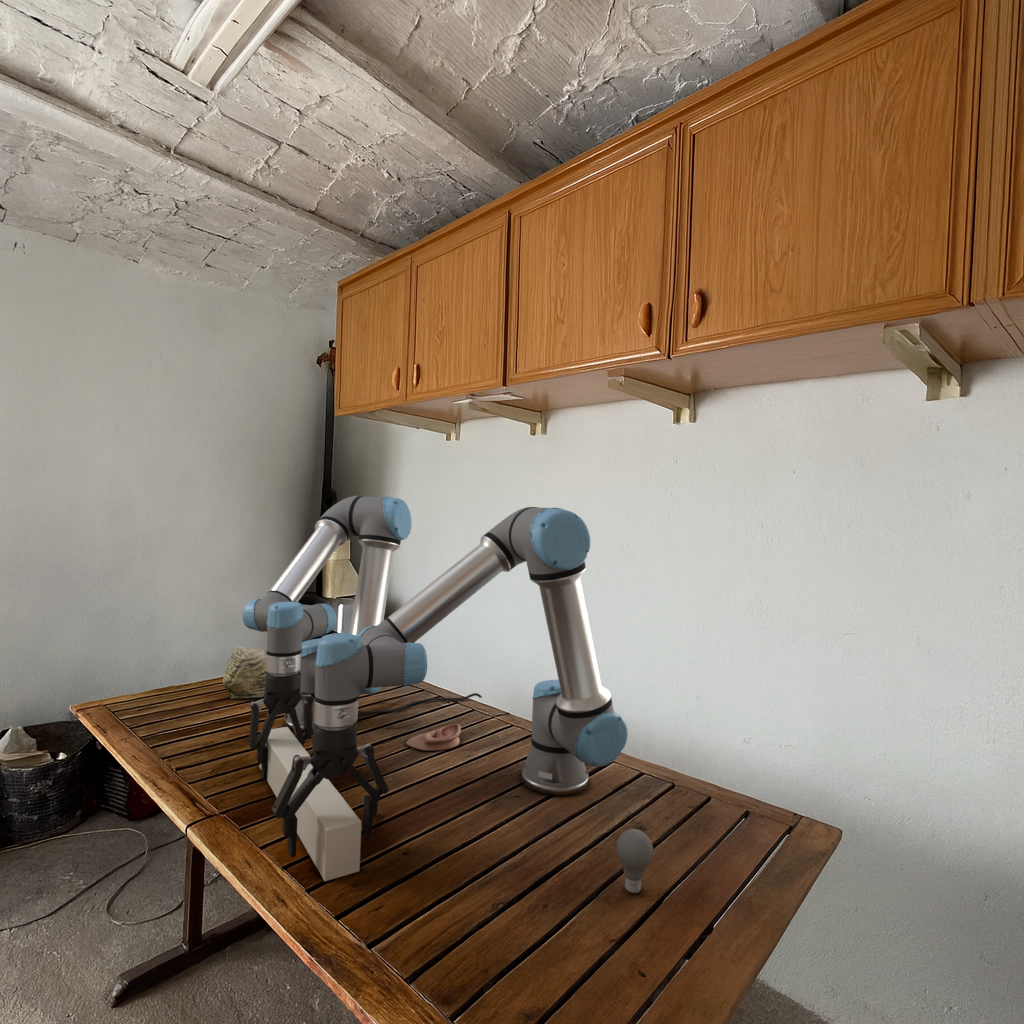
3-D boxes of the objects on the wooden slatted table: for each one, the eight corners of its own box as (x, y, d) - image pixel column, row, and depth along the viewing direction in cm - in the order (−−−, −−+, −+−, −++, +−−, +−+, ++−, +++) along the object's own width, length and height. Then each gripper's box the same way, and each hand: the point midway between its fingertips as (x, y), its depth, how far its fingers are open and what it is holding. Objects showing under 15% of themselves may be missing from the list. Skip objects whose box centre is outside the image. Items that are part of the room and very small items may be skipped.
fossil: (218, 695, 195) (220, 647, 195) (278, 685, 208) (279, 640, 207) (228, 703, 189) (230, 653, 188) (289, 692, 201) (290, 645, 201)
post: (259, 767, 147) (260, 730, 146) (286, 762, 150) (287, 726, 150) (324, 881, 105) (326, 830, 105) (359, 871, 108) (361, 821, 108)
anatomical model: (402, 732, 161) (417, 717, 172) (401, 747, 161) (417, 732, 172) (452, 738, 158) (464, 723, 170) (451, 754, 158) (464, 737, 170)
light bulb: (610, 879, 108) (613, 822, 108) (644, 879, 109) (647, 822, 109) (619, 902, 102) (622, 840, 102) (655, 901, 103) (658, 840, 103)
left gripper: (241, 681, 134) (237, 789, 134) (330, 671, 144) (326, 771, 145) (234, 672, 140) (231, 776, 141) (320, 663, 151) (317, 759, 151)
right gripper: (266, 742, 101) (261, 874, 102) (409, 719, 115) (404, 835, 115) (256, 727, 108) (251, 851, 108) (393, 707, 121) (388, 817, 122)
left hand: (279, 773), depth 143 cm, fingers closed on post, 6 cm apart
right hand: (330, 843), depth 112 cm, fingers open, 13 cm apart
